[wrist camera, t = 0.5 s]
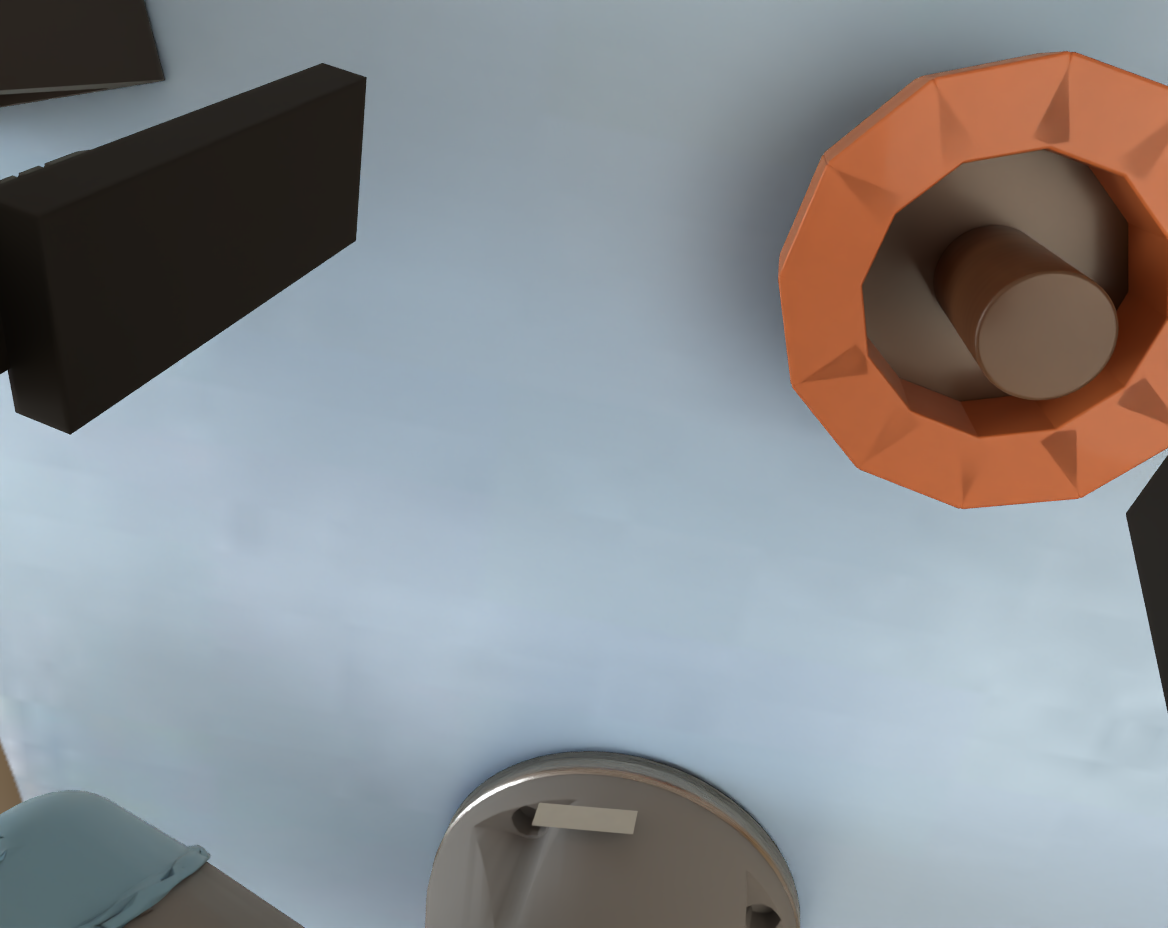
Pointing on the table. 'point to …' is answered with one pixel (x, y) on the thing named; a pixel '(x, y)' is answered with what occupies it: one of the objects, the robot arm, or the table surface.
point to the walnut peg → (1001, 281)
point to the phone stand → (73, 48)
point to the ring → (900, 175)
